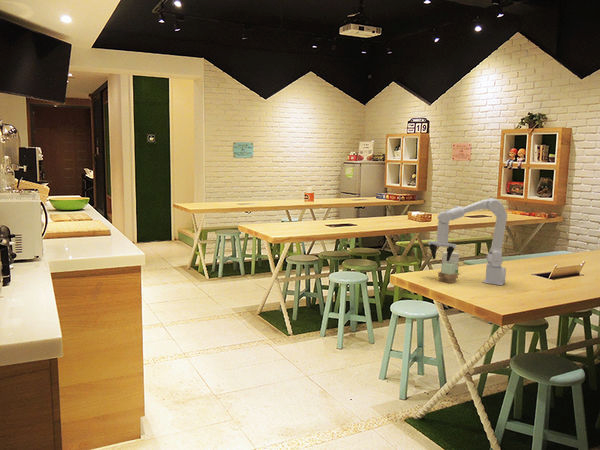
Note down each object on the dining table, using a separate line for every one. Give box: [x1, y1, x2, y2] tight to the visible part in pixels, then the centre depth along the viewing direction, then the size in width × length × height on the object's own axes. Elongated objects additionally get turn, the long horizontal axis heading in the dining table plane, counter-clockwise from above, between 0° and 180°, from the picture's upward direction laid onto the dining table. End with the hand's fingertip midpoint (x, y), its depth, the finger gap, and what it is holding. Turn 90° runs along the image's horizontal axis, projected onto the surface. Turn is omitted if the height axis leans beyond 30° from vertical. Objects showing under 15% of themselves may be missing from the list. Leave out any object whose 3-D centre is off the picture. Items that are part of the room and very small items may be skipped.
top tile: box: [437, 271, 459, 280], centre depth 266 cm, size 7×7×2 cm
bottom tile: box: [438, 277, 457, 285], centre depth 266 cm, size 7×7×2 cm
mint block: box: [441, 262, 456, 275], centre depth 265 cm, size 5×5×5 cm
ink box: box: [440, 251, 460, 274], centre depth 284 cm, size 9×5×12 cm, turn 84°
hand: (441, 259), depth 269 cm, fingers open, 7 cm apart
